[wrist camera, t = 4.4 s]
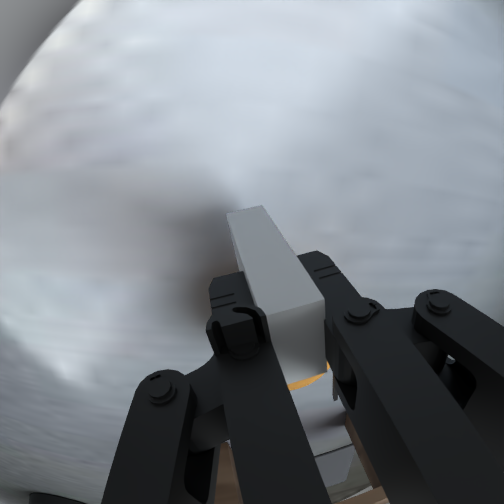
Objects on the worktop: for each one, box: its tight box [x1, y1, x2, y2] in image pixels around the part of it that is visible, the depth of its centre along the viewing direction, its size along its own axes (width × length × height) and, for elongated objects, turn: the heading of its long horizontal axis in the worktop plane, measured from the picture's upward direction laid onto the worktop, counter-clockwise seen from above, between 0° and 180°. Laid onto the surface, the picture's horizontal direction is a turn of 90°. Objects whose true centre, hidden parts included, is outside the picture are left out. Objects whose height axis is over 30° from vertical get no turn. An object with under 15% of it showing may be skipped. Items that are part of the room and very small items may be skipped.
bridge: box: [214, 414, 389, 504], centre depth 20 cm, size 3×14×9 cm, turn 99°
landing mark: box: [314, 444, 355, 487], centre depth 31 cm, size 14×14×1 cm
